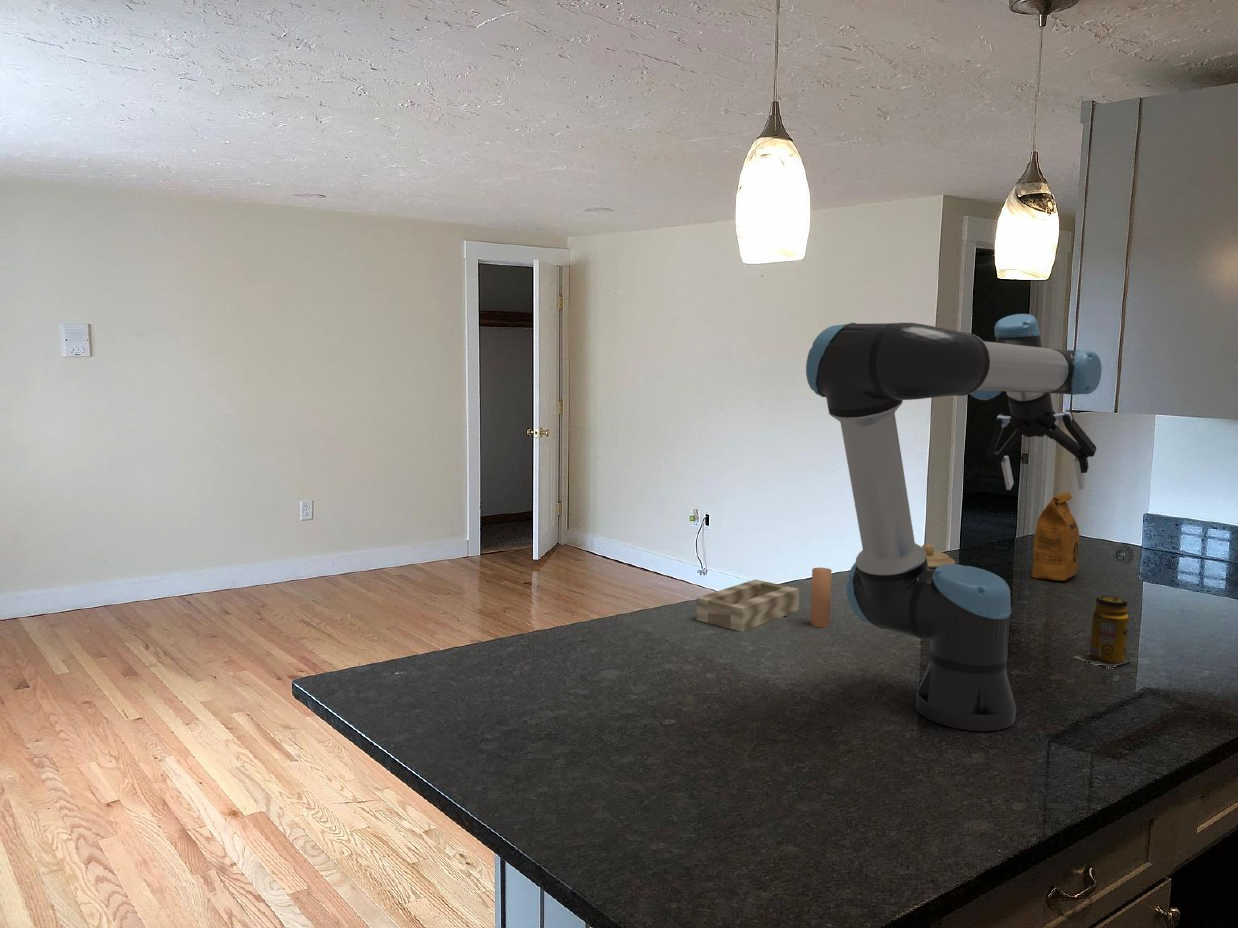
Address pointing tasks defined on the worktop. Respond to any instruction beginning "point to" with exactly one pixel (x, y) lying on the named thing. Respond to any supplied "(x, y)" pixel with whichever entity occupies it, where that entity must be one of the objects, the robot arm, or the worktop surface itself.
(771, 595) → the socket block
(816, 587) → the peg
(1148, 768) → the worktop surface
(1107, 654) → the condiment
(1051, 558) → the coffee package
